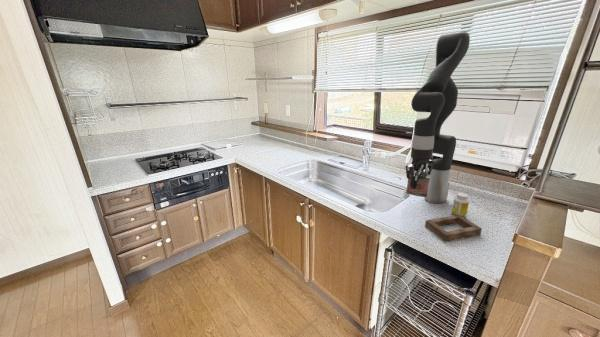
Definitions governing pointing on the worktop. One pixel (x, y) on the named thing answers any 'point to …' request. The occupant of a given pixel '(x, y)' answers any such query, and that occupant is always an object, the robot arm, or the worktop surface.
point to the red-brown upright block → (419, 185)
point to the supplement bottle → (460, 204)
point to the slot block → (446, 236)
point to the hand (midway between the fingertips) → (417, 186)
